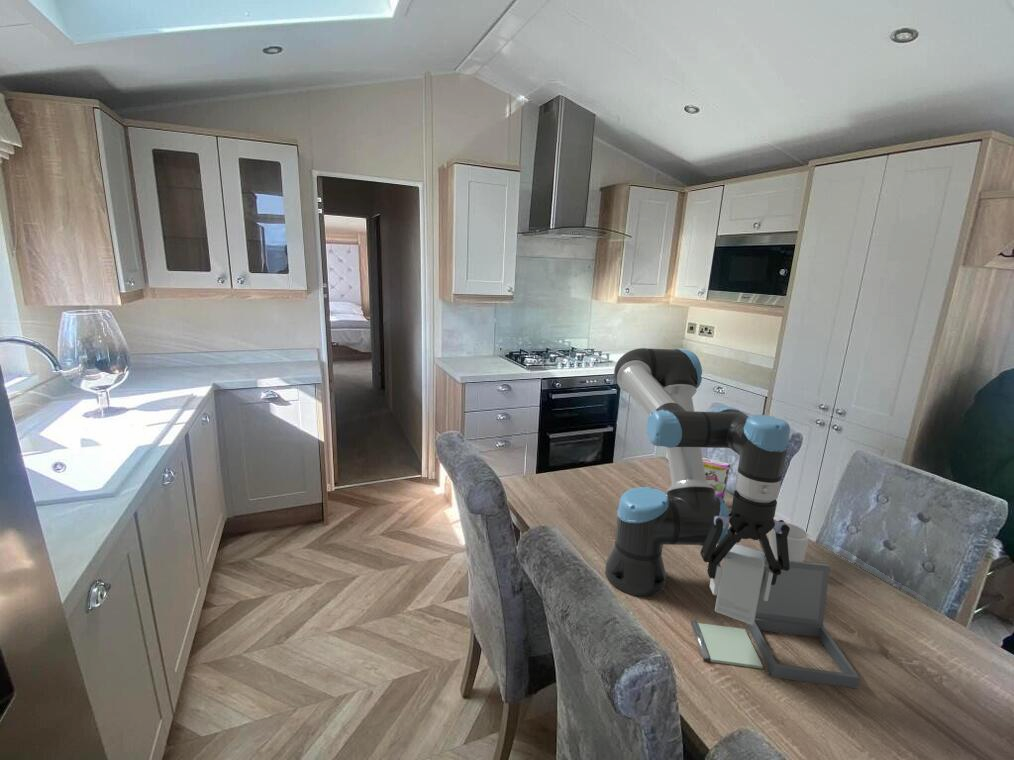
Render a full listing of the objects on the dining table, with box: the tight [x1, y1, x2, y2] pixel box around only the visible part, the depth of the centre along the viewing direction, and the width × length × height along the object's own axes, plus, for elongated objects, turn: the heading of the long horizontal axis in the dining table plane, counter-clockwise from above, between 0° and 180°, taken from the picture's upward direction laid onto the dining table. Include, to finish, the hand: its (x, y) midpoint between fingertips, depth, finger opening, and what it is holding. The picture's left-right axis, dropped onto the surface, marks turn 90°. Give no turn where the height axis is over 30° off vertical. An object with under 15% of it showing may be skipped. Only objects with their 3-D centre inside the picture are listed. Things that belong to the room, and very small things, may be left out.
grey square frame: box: [746, 617, 861, 689], centre depth 97 cm, size 16×14×2 cm
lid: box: [755, 557, 830, 626], centre depth 103 cm, size 16×14×1 cm
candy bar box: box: [702, 456, 731, 501], centre depth 156 cm, size 11×5×16 cm, turn 58°
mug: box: [768, 522, 810, 562], centre depth 127 cm, size 9×12×11 cm
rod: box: [690, 619, 710, 662], centre depth 100 cm, size 1×10×1 cm, turn 172°
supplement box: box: [714, 543, 766, 625], centre depth 95 cm, size 7×7×13 cm
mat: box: [697, 622, 764, 669], centre depth 99 cm, size 10×10×1 cm
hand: (738, 593), depth 96 cm, fingers closed on supplement box, 9 cm apart
